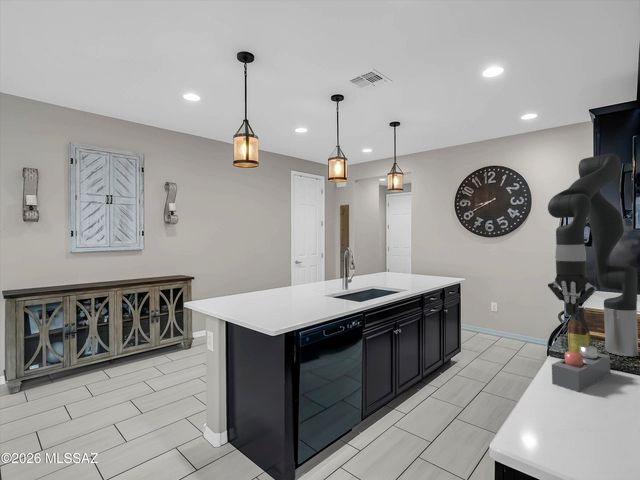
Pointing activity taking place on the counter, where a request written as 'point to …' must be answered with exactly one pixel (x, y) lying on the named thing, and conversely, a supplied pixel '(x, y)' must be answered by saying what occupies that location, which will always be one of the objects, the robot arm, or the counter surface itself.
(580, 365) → the red button
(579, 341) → the sauce bottle
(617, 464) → the counter surface
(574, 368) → the button panel
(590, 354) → the steel button
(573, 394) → the counter surface
